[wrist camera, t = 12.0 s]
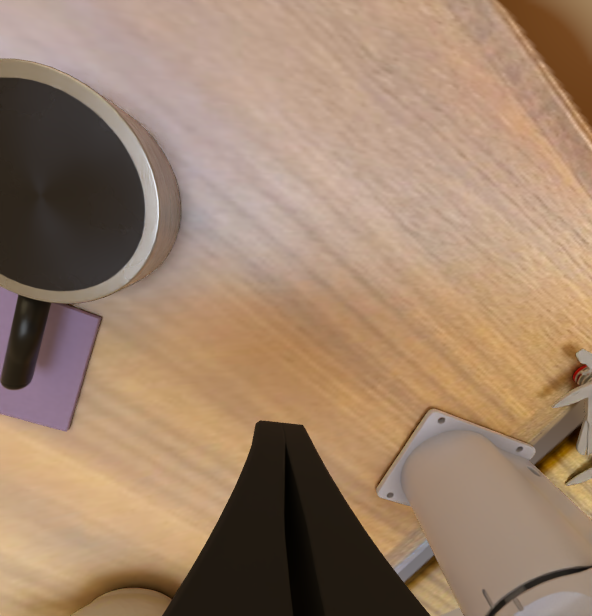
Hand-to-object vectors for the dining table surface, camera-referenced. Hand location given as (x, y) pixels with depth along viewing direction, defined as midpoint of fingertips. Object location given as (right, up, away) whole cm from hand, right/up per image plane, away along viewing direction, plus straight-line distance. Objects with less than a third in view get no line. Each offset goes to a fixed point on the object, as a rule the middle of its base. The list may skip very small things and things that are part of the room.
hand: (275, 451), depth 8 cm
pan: (-11, +7, +7) cm, 15 cm away
